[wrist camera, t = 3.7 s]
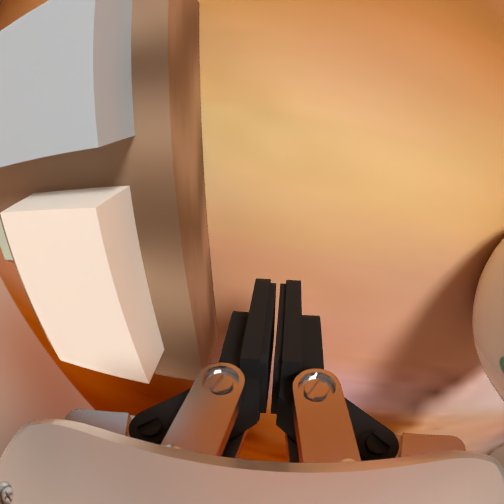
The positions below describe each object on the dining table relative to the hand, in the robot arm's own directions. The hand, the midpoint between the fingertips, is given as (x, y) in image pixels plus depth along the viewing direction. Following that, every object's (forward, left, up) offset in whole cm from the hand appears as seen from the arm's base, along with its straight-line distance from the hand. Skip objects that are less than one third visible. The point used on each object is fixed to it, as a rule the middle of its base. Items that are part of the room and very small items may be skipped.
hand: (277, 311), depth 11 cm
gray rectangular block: (-10, -10, -1) cm, 14 cm away
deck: (-3, -10, -5) cm, 12 cm away
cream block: (0, -9, -1) cm, 9 cm away
